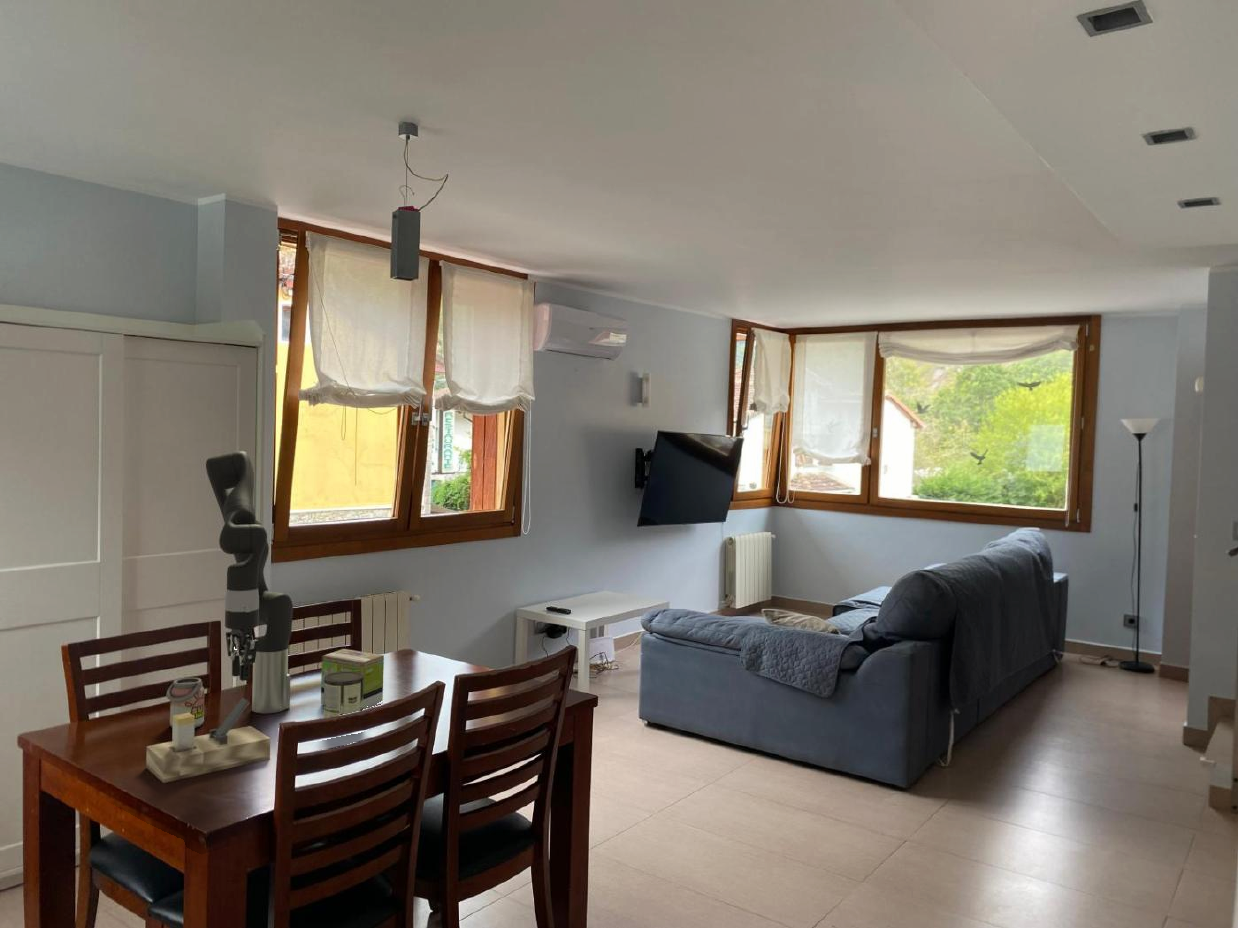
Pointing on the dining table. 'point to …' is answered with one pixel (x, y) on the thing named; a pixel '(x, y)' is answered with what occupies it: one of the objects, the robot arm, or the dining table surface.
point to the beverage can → (187, 699)
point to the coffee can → (343, 693)
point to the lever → (231, 718)
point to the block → (208, 754)
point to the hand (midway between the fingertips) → (240, 677)
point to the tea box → (358, 663)
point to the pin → (183, 732)
